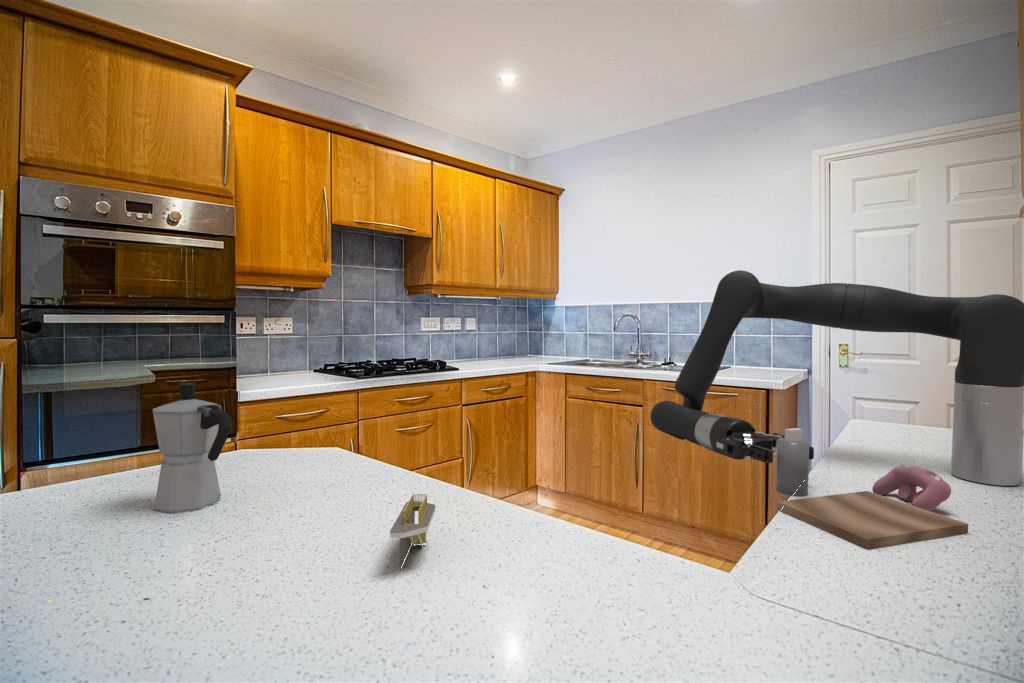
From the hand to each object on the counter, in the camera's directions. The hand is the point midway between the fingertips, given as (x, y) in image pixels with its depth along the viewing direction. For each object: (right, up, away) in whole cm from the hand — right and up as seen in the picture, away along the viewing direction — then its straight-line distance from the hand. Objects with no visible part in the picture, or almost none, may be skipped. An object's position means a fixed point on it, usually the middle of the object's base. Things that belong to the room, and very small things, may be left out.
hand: (792, 455), depth 85 cm
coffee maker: (-94, -6, -8) cm, 94 cm away
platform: (-58, -7, -24) cm, 63 cm away
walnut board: (+4, -6, -12) cm, 14 cm away
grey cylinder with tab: (0, -6, 0) cm, 6 cm away
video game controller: (+15, -7, -5) cm, 18 cm away
